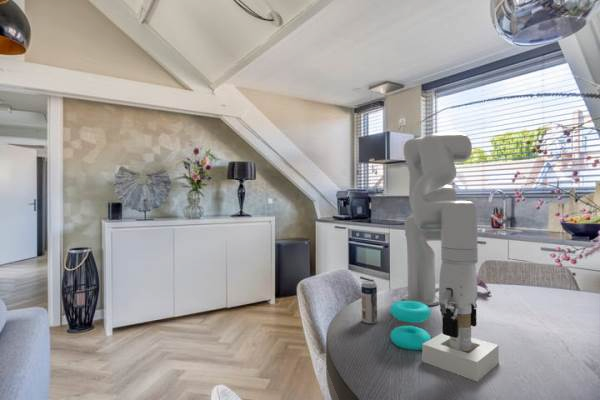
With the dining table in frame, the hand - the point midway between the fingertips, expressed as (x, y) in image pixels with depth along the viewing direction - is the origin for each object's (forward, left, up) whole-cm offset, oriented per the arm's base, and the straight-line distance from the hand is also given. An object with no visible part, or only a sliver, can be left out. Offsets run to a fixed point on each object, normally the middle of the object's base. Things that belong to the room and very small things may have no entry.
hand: (460, 330), depth 78 cm
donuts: (-1, -13, -8) cm, 15 cm away
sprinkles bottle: (0, 0, -7) cm, 8 cm away
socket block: (0, 0, -7) cm, 7 cm away
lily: (-63, -19, -8) cm, 66 cm away
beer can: (-6, -30, -7) cm, 32 cm away
